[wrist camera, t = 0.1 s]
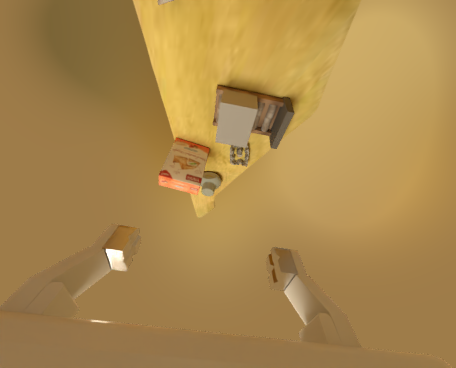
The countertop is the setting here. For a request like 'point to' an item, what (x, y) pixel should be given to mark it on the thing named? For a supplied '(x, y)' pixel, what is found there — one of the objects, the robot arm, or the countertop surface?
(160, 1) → the tube
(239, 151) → the egg carton
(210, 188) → the air freshener
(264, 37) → the countertop surface
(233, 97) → the grey cardboard box
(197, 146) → the cracker box
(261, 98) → the roller bed
